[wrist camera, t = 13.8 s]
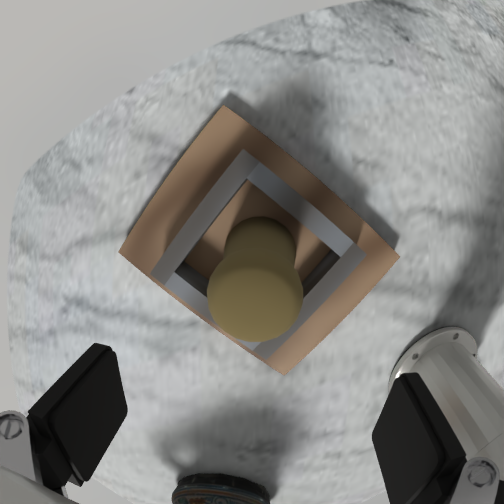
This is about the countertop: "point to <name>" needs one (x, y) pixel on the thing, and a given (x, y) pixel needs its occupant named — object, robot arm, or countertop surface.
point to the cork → (256, 282)
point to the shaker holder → (256, 205)
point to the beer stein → (218, 490)
